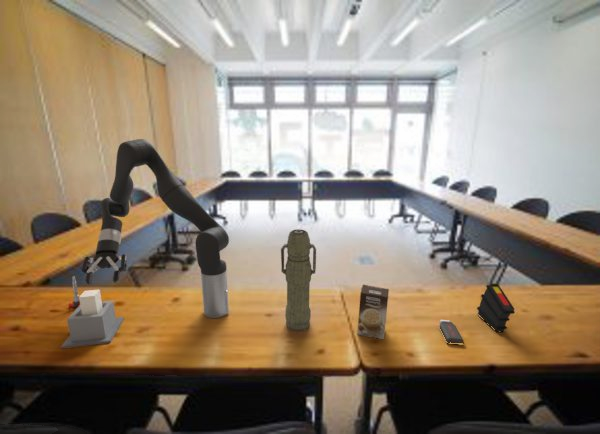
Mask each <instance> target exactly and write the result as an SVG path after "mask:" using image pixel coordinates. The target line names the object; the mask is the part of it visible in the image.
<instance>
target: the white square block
mask: <svg viewBox="0 0 600 434" xmlns="http://www.w3.org/2000/svg"><path fill="white" fill-rule="evenodd" d="M79 300H80V306H81V311H82V316H84V315H94V314H99V313H100V312H101V310H102V309H103V306H102V302H103V300H102V295H101V290H100V289H99V288H98V289H91V290H90V289H89V290H84V291H83V292H82V293H81V294H80V295H79Z"/></svg>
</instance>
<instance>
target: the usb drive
mask: <svg viewBox="0 0 600 434" xmlns="http://www.w3.org/2000/svg"><path fill="white" fill-rule="evenodd" d="M439 327H440V329H441V331H442V333H443V335H444V337H445V339H446V341H447V342H448V343H450V342H451V343H463V344H465V341H464V339H463V336H462V335H461V333H460V331H459V330H458V328H457V326H456V325H455V324H454V323H453V322H452V321H451V320H448V319H440V320H439ZM440 329H439V330H440ZM441 331H440V332H441ZM442 333H441V334H442ZM443 335H442V336H443Z"/></svg>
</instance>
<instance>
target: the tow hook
mask: <svg viewBox="0 0 600 434" xmlns="http://www.w3.org/2000/svg"><path fill="white" fill-rule="evenodd" d="M72 289H73V301H72V302H70V303H68V307H69V308H76V309H77V308H78V307H79V306H80V300H79V297H80V295H79V294H78V285H77V280H76V276H75V275H73V276H72Z"/></svg>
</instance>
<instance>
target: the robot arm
mask: <svg viewBox="0 0 600 434" xmlns="http://www.w3.org/2000/svg"><path fill="white" fill-rule="evenodd" d="M145 165H146V166H147V167H148V168H149V169H150V170H151V171H152V173H153V175H154V176H155V180H156V188H157V193H158V197H159V198H160V200H161V201H162V202H163V203H164V204H165V205H166V206H167V208H168V209H169V210H170V211H171V212H172V213H174V214H175V215H177V216H179V217H181V218H182V219H184V220H186V221H188V222H189V223H191V224H193V225H194V226H195V227H196V228H197V229H198V230H199V231H200V233H198V235H197V236H196V238H195V251H196V258H197V259H196V260H197V265H198V266H199V269H200V277H201V292H202V304H203V305H202V306H203V315H204V316H205V317H206V318H209V319H219V318H223V317H224V316H228V315H229V314H230V309H229V307H230V304H229V286H228V275H227V274H228V272H227V271H228V270H227V263H226V261H225V260H223V259H221V253H220V252H221V251H223V250H224V249H225V248H227V247H228V245H229V242H230V237H229V235H228V233H227V231H226V230H225V228H224V227H223V226H222V225H220V224H219V223H218V222H217V220H215V219H214V218H213V217H212V216H211V215H210V214H209V213H208V212H207V211H206V210H205V209H204V207H203V206H202V205H201V204H200V203H199V202H198V201H197V200H196V198H195V197H194V196H193V194H192V193H191V192H190V191H189V190H188V189H187V187H185V185H184V184H183V183H182V182H181V181H180V180H179V178H178V177H177V176H176V175H175V173H173V171H172V170H171V169H170V168H169V166H168V165H167V163H166V162H165V160H164V159H163V158H162V157H161V155H160V154H159V151H158V150H157V149H156V148H155V147H154V145H153V144H152V143H151V142H150V141H149V140H148V139H144V138H138V139H132V140H127V141H124V142H121V143H120V144H119V146H118V147H117V153H116V163H115V173H114V174H115V175H114V180H113V182H112V187H111V190H110V192H109V197H105V198H103V199H102V201H101V202H100V213H101V228H100V232H99V234H98V239H97V245H96V249H95V255H94V256H93V257H89V256H85V257H84V261H83V264H82V267H81V272H82V273H83V274H85V275H86V276H85V283H86V284H88V285H92V283H93V279H94V277H93V276H94V274H95V273H96V272H97V271H99V270H100V269H106V268H107V269H110V268H112V269H114V272H113V277H112V282H113V283H116V284H117V283H118V282H119V280H120V277H121V275H120V274H121V273H122V272H126V271H127V262H128V256H127V255H125V254H123V253H122V255H119V252H120V246H121V242H122V241H121V240H122V239H121V238H122V237H121V236H122V230H123V229H122V228H123V222H122V220H121V219H119V218H125V217H127V216H128V215H129V213H130V198H131V195H132V193H133V190H134V181H133V179H132V177H131V172H132V171H133V169H134V168H138V167H141V166H145ZM117 217H119V218H117ZM118 261H120V266H119V267H118V265H117V262H118Z"/></svg>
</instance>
